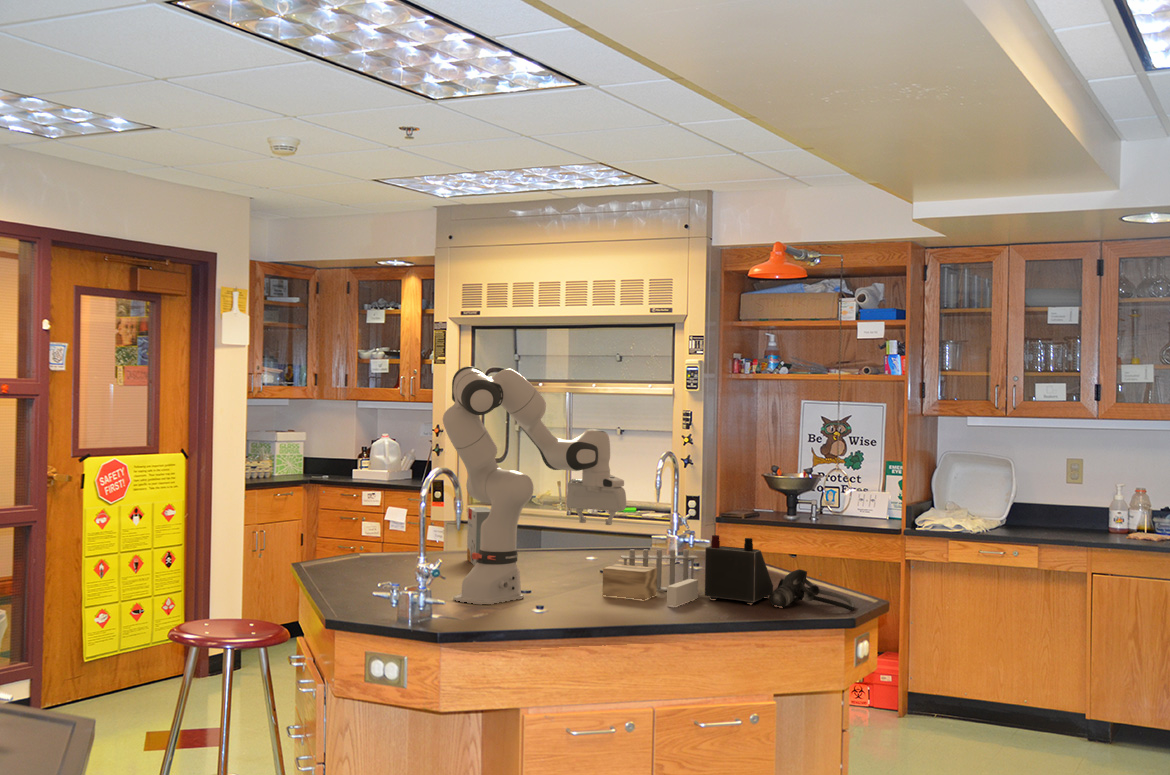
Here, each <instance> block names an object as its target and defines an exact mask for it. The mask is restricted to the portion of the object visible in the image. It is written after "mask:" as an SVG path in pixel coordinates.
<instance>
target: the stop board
mask: <svg viewBox="0 0 1170 775" xmlns="http://www.w3.org/2000/svg"><path fill="white" fill-rule="evenodd" d="M666 587H667V592H666V606H667V605H673V606H677V605H680V604H682V603H685V602H688V601H691V600H693V599H696V598H698V599H699V594H698V593H699V579H695V578H693V579H691V578H688V579H687V580H684V581H683V580H682V581H679V582H675V584H673V585H668V586H666Z"/></svg>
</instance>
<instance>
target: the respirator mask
mask: <svg viewBox="0 0 1170 775" xmlns="http://www.w3.org/2000/svg"><path fill="white" fill-rule="evenodd" d="M807 574H808V571H807V570H804V569H796V570H793V571H791V572H789V573H788V574H786V576H785V577H784V578H780V580H779V582H778V585H777V587H776V588H775V589H773V592H771V593H770V595H769V596H768V599H769V603H770V604H771V606H773V605H777V606H782V607H784V608H785V606H786V607H787V606H789V604H791V603H792V602H796V603H797V602H799V601H802V600H803V599H804V600H805V601H806V602H811V601H817V602H820V603H821V602H822V603H825V604H829V605H833V606H837V607H839V608H843V609H845V610H848V611H850V610H851V611H853V610H854V609H855V607H856V605H855V602H854V601H853V600H852V599H851V598H849V597H847V596H846V595H843V594H841V593H836V592H833V591H829V590H825V589H820V588H819V586H818V585H817V584H813V583H812V582H811V581H810V580H808V579H807ZM805 585H807V586H805ZM819 594H820V595H824V596H828V597H832V598H836V599H839V600H842V601H844V602H846V603H844V602H840V601H838V600H834V599H829V598H825V597H822V596H818V595H819ZM847 603H848V604H847ZM852 609H853V610H852Z"/></svg>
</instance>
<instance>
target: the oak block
mask: <svg viewBox="0 0 1170 775" xmlns="http://www.w3.org/2000/svg"><path fill="white" fill-rule="evenodd" d="M657 593H658V592H657V568H656V567H652V566H648V567H643V565H642V566H641V565H640V566H639V565H635V566H632V565H629V564H627V565H624V564H619V563H614V564H612V565H609V566H606V567H603V568H602V596H603V595H606V596H617V597H626V598H634V599H642V600H645V599H647V598H650V597H652V596H655V595H658V594H657Z"/></svg>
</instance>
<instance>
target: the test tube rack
mask: <svg viewBox="0 0 1170 775" xmlns="http://www.w3.org/2000/svg"><path fill="white" fill-rule="evenodd" d="M649 552H650V551H649V549H643V550H642V555H636V550H635V549H629V555H620V556H619V557H620V559H622V560H623V565H632V566H636V565H635V564H636V563H635V562H636V560H641V559H642V566H643V567H649V560H652V559H653V560H656V562H655V563H656V565H655V566H656V567H655V568H657V591H667V586H662V575H663V574H662V570H663V569H662V566H663V565H662V563H663V562H662V561H663V560H666V559H667V560H668V559H669V580H668V581H669V585H668V586H670V585H673V584H675V583H676V560H677V559H678V560H679V559H680V560H682V581H684V580H687V579H689V562H690V561H691V562H690V579H694V574H695V573H694V567H695V566H694V565H695V562H694V561H695V560H698V559H699V557H698V556H697V555H690V553H689V552H690V551H689V549H685V548H683V550H682V552H683V553H682V554H683V555H676V549H670V550H669V555H663V550H662V549H656V555H649ZM628 559H629V560H628ZM689 560H690V561H689ZM628 561H629V563H627V562H628Z"/></svg>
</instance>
